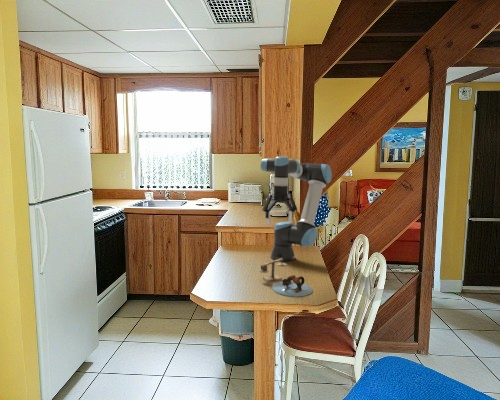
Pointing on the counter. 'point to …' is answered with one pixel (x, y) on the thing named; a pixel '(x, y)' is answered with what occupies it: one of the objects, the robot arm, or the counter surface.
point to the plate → (292, 289)
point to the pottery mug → (295, 280)
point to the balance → (272, 277)
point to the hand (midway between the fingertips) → (279, 223)
